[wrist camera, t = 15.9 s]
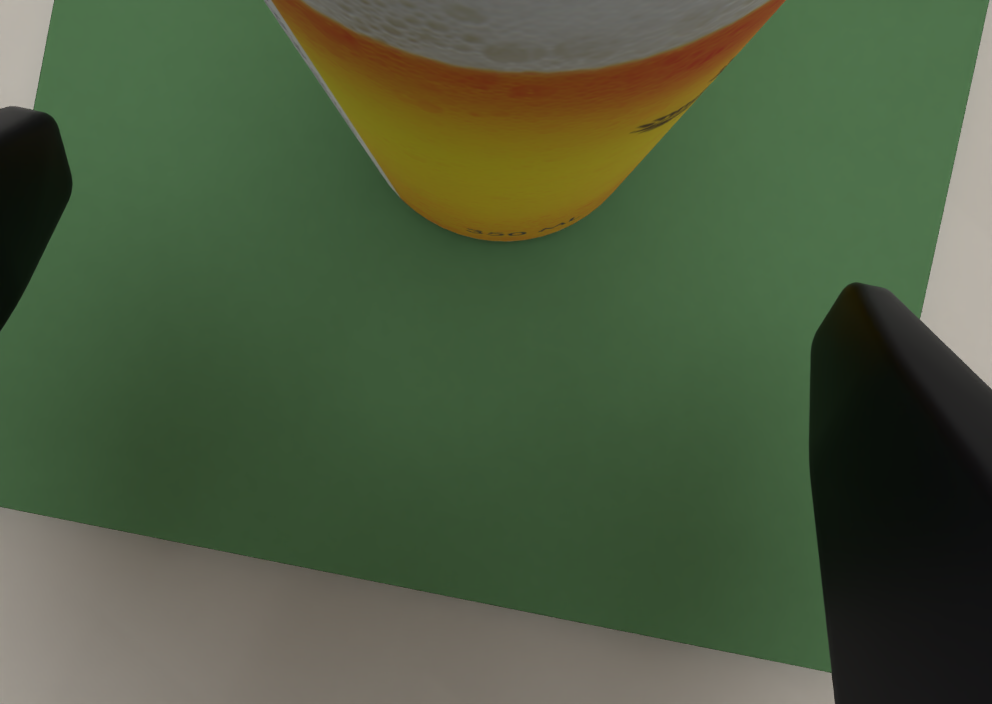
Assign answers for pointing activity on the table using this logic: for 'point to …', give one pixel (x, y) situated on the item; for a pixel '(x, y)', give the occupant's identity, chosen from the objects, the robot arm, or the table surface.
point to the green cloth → (470, 323)
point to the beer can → (514, 95)
